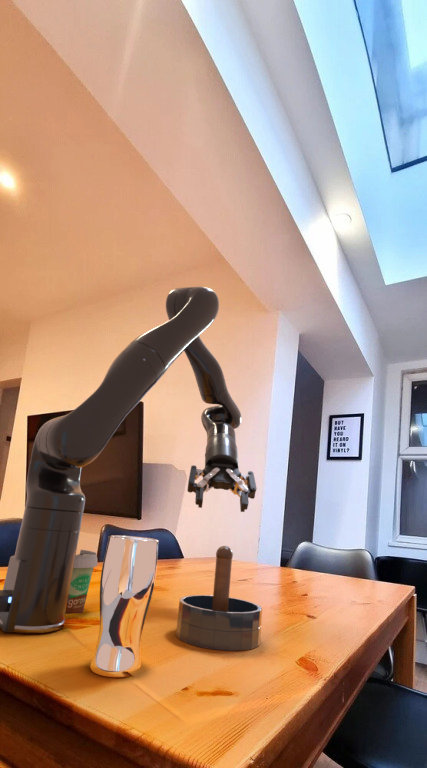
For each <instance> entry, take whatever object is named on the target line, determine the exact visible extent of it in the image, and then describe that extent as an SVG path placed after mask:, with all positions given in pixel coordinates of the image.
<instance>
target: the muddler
mask: <svg viewBox="0 0 427 768" xmlns="http://www.w3.org/2000/svg"><path fill="white" fill-rule="evenodd" d="M215 557H216V558H215V569H214V578H213V579H214V580H213V591H212V596H213V602H212V610H214V611H224V612H228V604H229V597H230V591H231V590H230V588H231V577H232V564H233V563H232V562H233V557H234V553H233V550H232V548H230V547H229V546H227V545H222V546H219V547H218V548H217V550H216V552H215Z"/></svg>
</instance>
